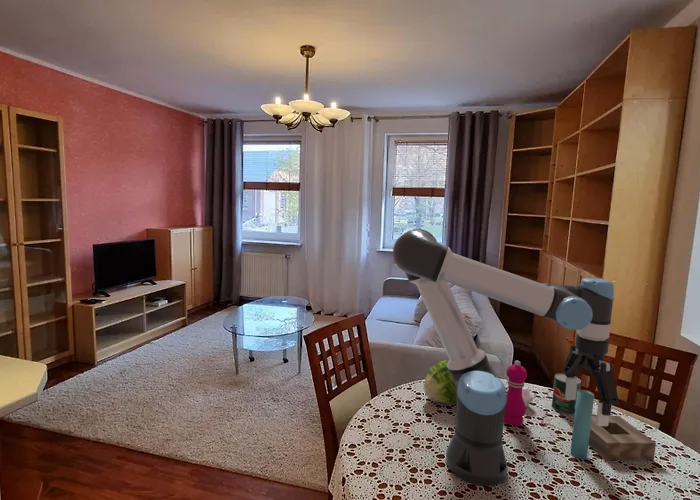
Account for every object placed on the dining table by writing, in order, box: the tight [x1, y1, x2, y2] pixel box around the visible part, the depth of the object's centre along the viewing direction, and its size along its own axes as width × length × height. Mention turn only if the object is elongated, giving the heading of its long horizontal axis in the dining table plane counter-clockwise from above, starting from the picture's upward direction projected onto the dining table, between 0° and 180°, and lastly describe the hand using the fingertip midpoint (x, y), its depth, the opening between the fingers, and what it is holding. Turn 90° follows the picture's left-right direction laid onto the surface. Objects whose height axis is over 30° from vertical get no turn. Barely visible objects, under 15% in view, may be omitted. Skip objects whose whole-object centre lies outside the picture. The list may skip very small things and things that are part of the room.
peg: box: [569, 389, 595, 460], centre depth 108 cm, size 4×4×18 cm
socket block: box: [588, 414, 657, 461], centre depth 114 cm, size 14×14×5 cm
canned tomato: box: [551, 373, 582, 416], centre depth 133 cm, size 8×8×11 cm
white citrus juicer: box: [522, 385, 533, 408], centre depth 135 cm, size 6×6×7 cm
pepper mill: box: [504, 360, 528, 427], centre depth 124 cm, size 7×7×20 cm
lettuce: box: [423, 358, 457, 406], centre depth 136 cm, size 16×21×15 cm
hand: (585, 411), depth 107 cm, fingers open, 13 cm apart
